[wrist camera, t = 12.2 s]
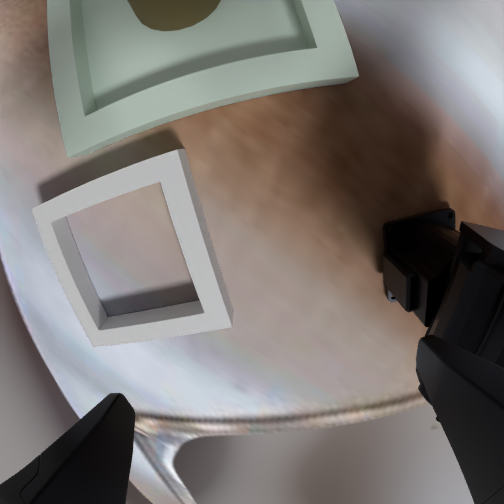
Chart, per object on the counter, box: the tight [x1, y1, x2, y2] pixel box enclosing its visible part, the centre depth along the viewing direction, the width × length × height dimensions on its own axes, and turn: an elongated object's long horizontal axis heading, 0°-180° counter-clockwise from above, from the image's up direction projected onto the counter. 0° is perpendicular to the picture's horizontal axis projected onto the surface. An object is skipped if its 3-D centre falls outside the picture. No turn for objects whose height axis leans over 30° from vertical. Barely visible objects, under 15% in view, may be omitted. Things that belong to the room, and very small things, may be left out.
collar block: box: [32, 149, 234, 347], centre depth 19 cm, size 12×12×2 cm
